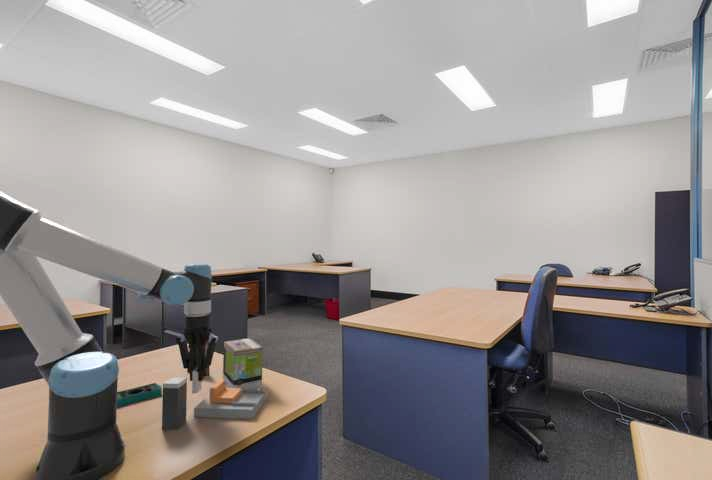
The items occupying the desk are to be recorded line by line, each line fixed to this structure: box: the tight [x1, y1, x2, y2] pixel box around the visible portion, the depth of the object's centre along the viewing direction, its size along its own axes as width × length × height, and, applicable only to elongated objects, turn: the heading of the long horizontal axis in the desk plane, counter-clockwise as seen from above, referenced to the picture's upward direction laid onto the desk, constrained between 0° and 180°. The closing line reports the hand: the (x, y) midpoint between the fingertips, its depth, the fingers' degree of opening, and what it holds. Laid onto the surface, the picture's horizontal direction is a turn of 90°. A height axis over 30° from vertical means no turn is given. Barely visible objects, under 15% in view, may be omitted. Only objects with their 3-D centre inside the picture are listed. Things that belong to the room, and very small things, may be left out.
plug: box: [161, 376, 188, 430], centre depth 89 cm, size 4×4×12 cm
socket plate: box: [193, 389, 268, 420], centre depth 99 cm, size 13×17×3 cm
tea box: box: [222, 337, 264, 390], centre depth 115 cm, size 15×10×15 cm, turn 35°
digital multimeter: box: [117, 382, 163, 408], centre depth 105 cm, size 7×15×3 cm, turn 134°
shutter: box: [209, 379, 242, 403], centre depth 100 cm, size 7×7×4 cm
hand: (196, 391), depth 100 cm, fingers closed
